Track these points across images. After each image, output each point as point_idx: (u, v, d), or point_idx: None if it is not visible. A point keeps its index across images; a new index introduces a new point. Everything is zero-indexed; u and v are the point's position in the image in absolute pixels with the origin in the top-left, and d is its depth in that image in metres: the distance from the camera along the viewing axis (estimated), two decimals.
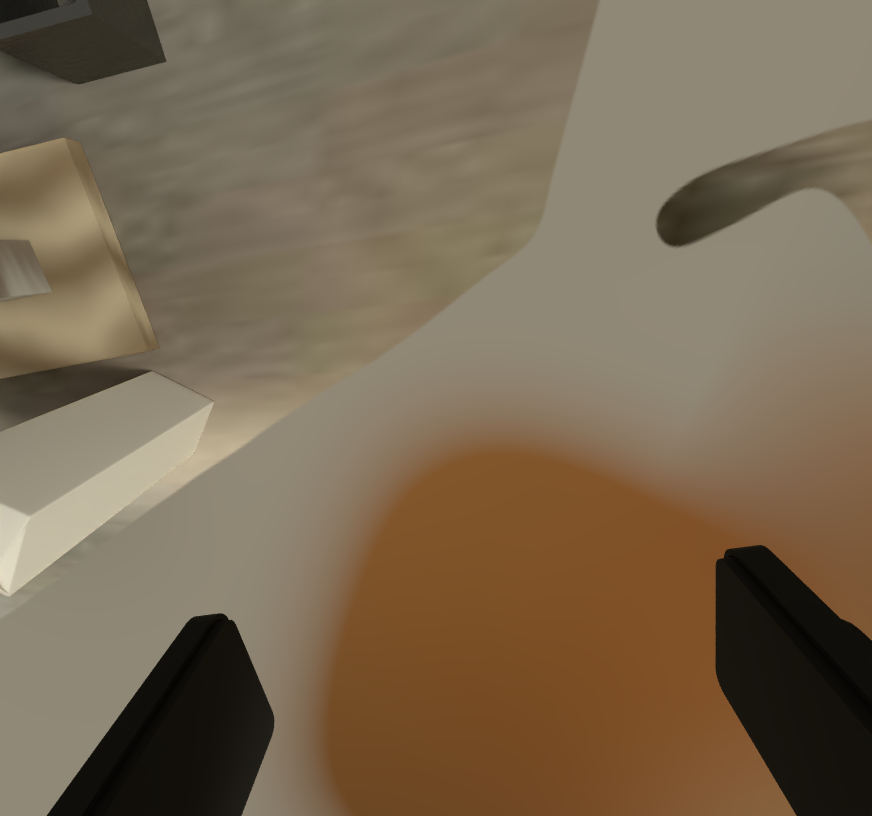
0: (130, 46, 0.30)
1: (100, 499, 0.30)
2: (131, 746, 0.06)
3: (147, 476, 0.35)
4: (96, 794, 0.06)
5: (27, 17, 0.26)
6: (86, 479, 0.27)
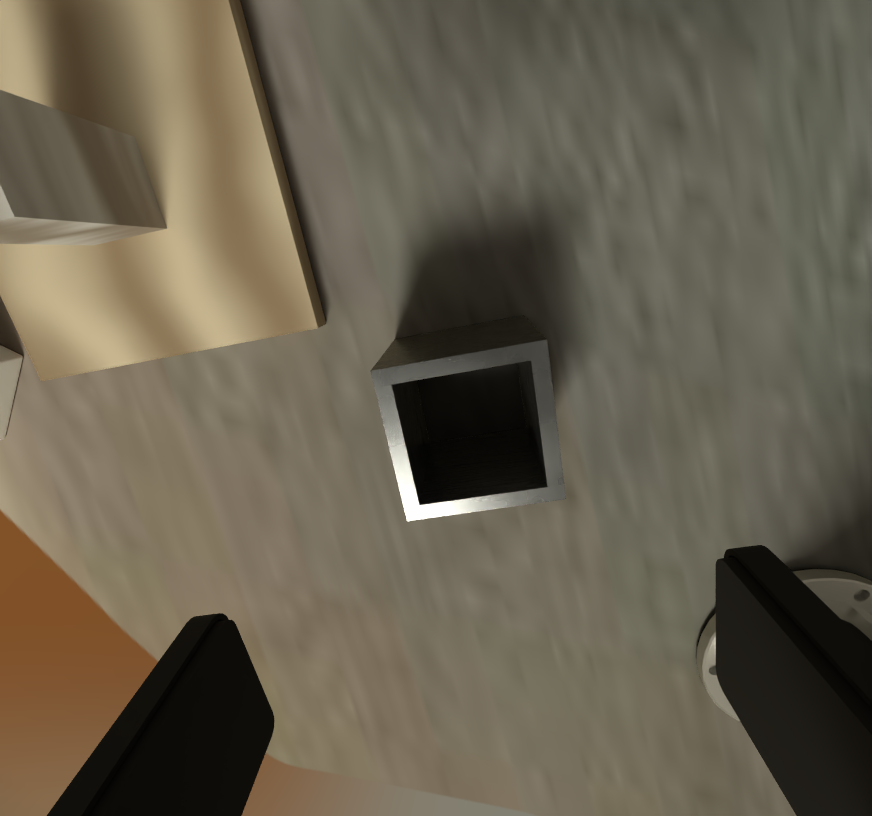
0: None
1: None
2: (131, 746, 0.06)
3: None
4: (96, 794, 0.06)
5: (403, 440, 0.19)
6: None
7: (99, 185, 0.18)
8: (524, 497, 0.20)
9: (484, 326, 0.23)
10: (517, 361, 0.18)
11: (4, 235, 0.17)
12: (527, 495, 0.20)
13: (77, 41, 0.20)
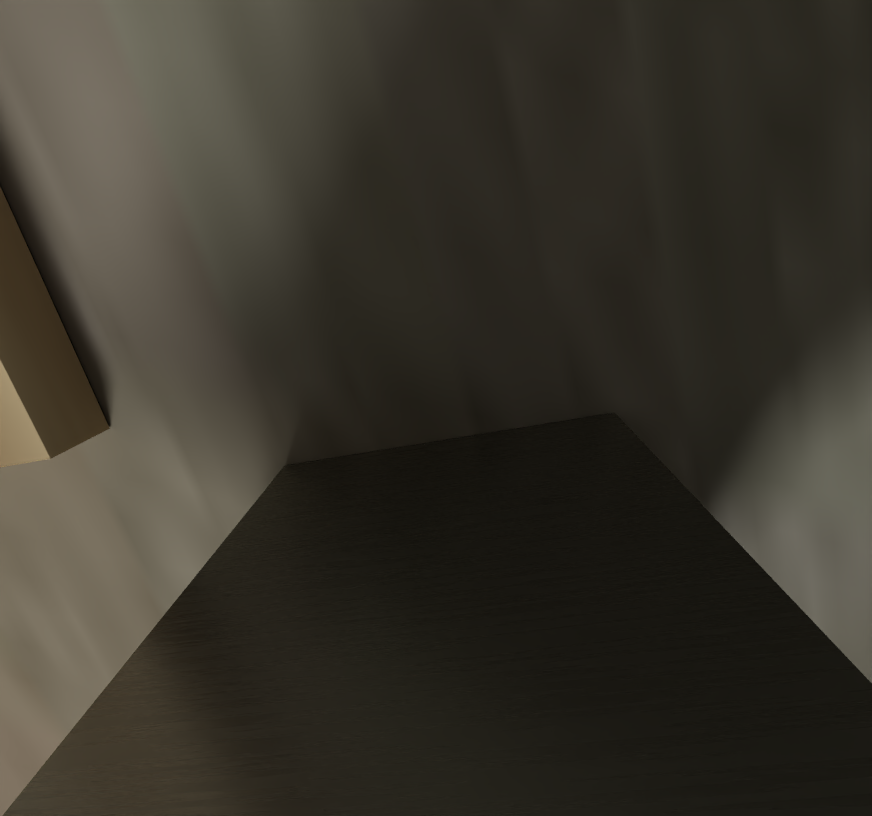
0: None
1: None
2: None
3: None
4: None
5: None
6: None
7: None
8: None
9: (514, 456, 0.08)
10: None
11: None
12: None
13: None
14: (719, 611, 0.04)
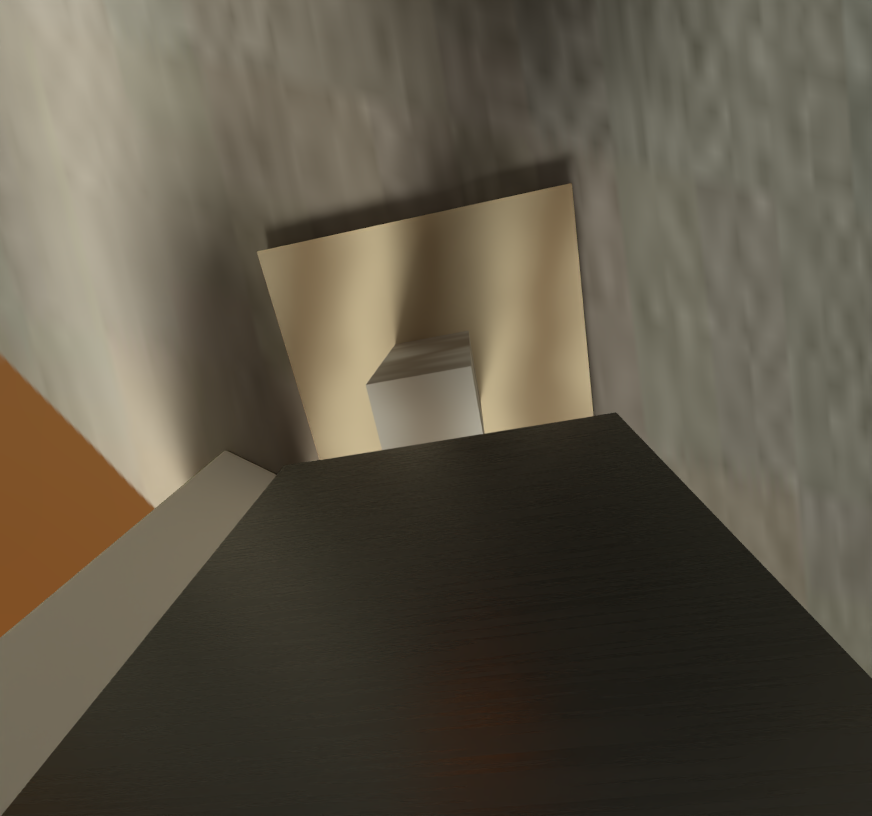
0: None
1: None
2: None
3: None
4: None
5: None
6: None
7: (478, 394, 0.22)
8: None
9: (515, 456, 0.08)
10: None
11: None
12: None
13: (434, 257, 0.23)
14: (723, 613, 0.04)
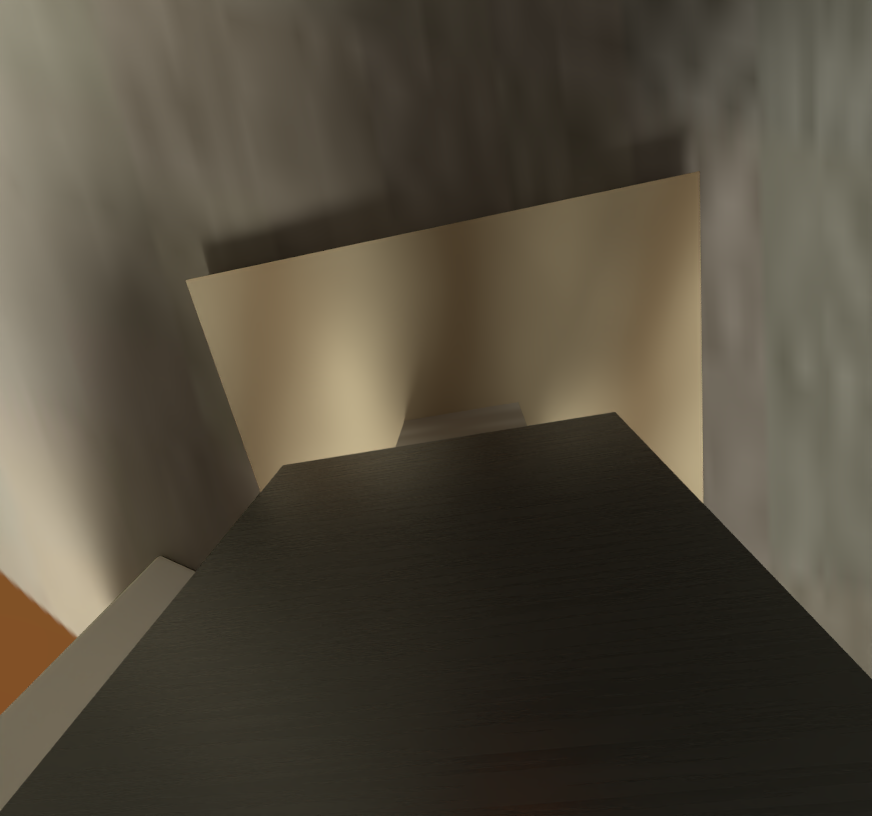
0: None
1: None
2: None
3: None
4: None
5: None
6: None
7: None
8: None
9: (514, 455, 0.08)
10: None
11: None
12: None
13: (468, 291, 0.15)
14: (722, 612, 0.04)
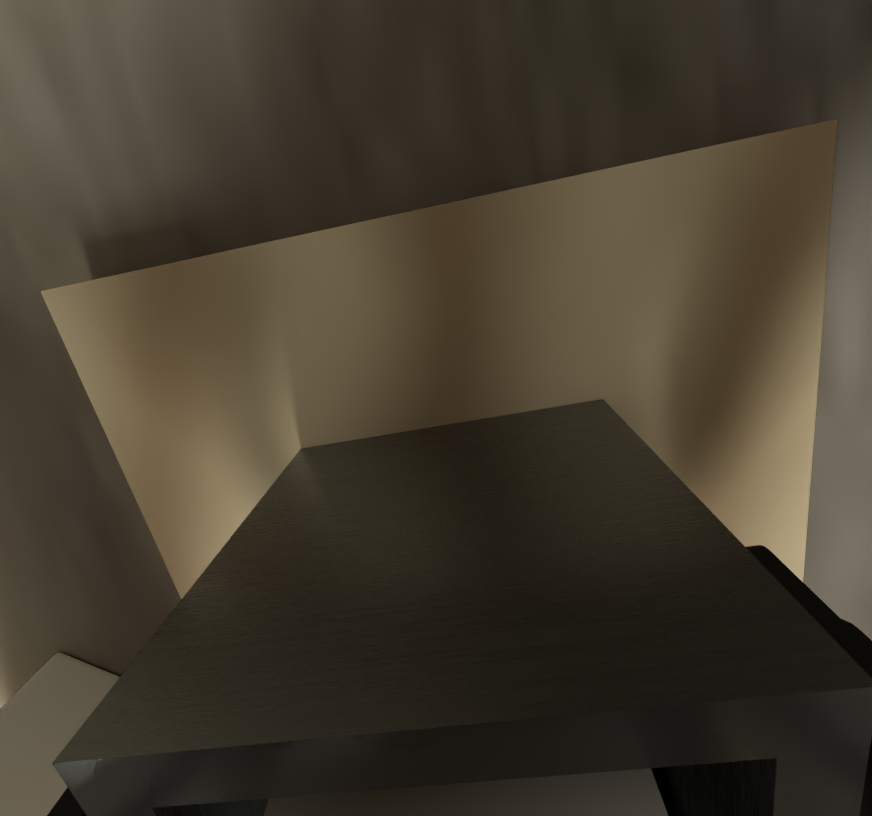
0: None
1: None
2: None
3: None
4: None
5: None
6: None
7: None
8: None
9: (511, 436, 0.09)
10: (710, 760, 0.04)
11: None
12: None
13: (467, 308, 0.10)
14: (679, 550, 0.05)
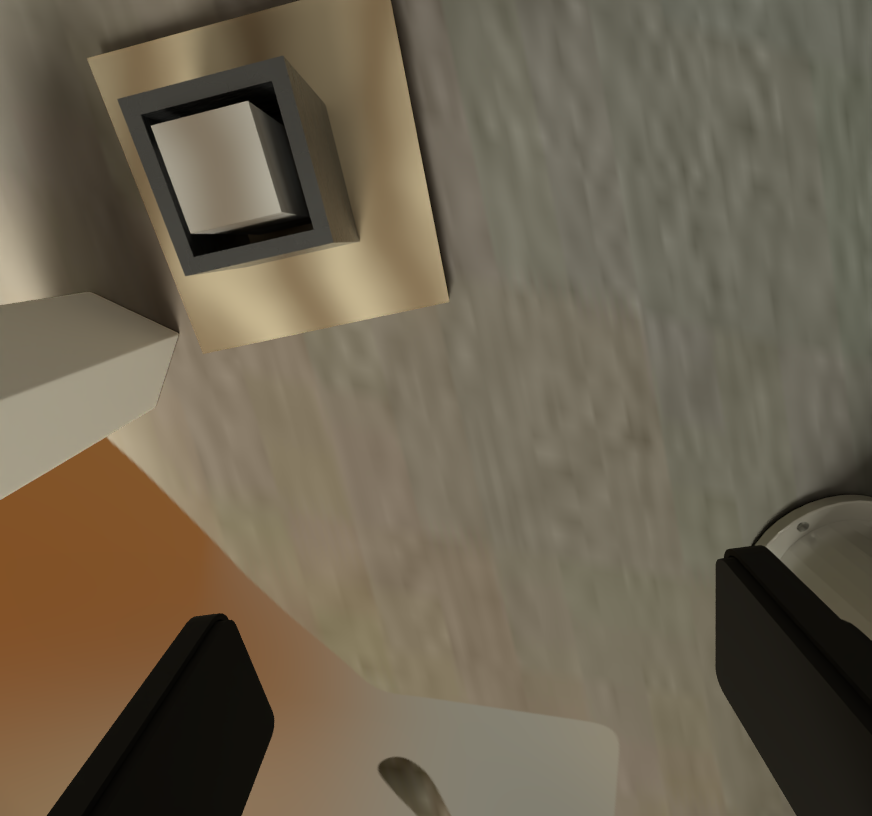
0: None
1: None
2: (131, 746, 0.06)
3: None
4: (95, 794, 0.06)
5: (164, 181, 0.19)
6: None
7: None
8: (293, 242, 0.20)
9: None
10: (258, 82, 0.18)
11: (241, 227, 0.21)
12: (296, 240, 0.20)
13: None
14: None
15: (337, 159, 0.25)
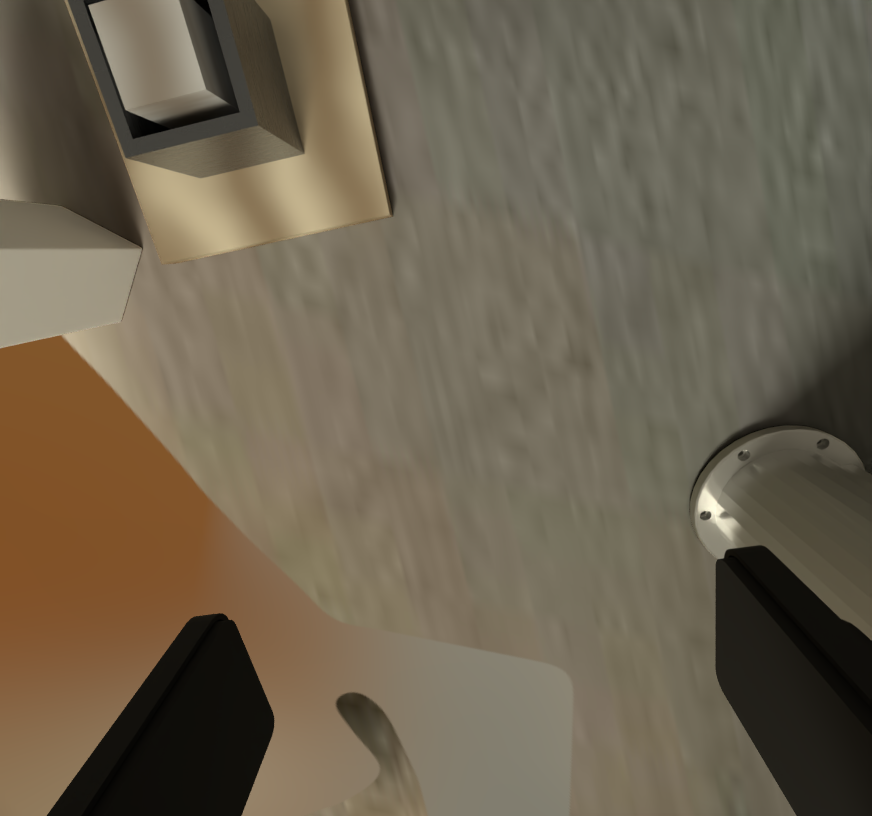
0: None
1: None
2: (131, 746, 0.06)
3: None
4: (95, 794, 0.06)
5: (105, 64, 0.21)
6: None
7: None
8: (221, 125, 0.22)
9: None
10: None
11: (179, 115, 0.23)
12: (224, 122, 0.22)
13: None
14: None
15: (280, 71, 0.27)
